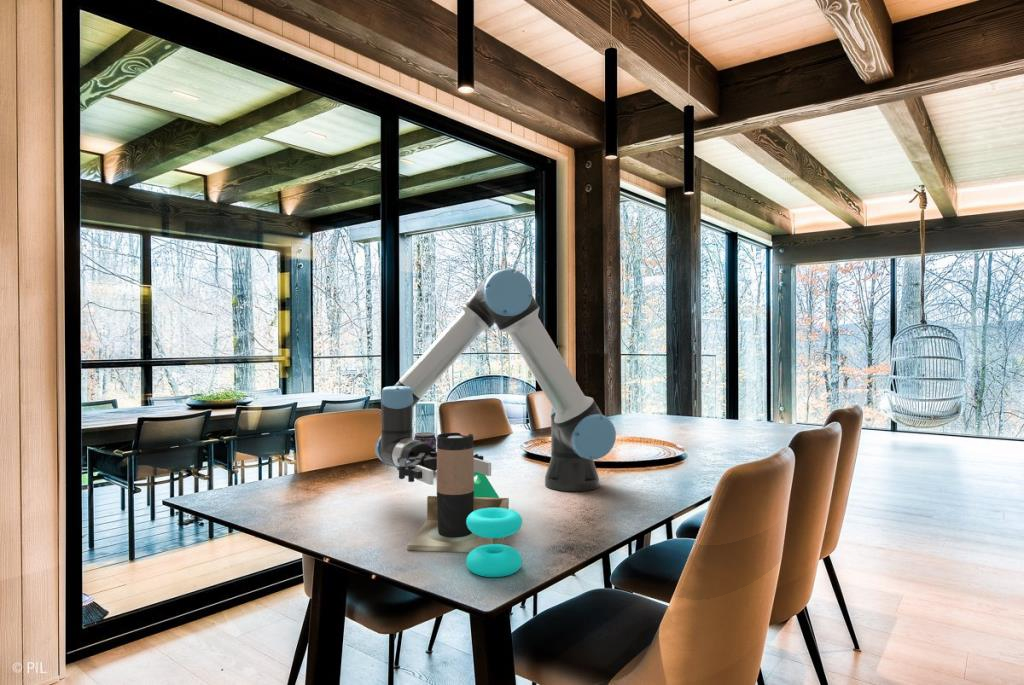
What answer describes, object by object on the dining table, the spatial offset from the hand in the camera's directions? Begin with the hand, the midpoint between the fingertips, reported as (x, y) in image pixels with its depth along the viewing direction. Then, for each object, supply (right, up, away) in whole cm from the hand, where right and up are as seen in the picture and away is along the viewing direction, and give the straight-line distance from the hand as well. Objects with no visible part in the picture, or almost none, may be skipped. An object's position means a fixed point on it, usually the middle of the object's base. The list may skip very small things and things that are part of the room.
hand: (461, 473), depth 125 cm
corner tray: (0, -14, +3) cm, 14 cm away
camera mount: (+1, -14, +24) cm, 28 cm away
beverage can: (-17, -14, +65) cm, 68 cm away
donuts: (+7, -14, -15) cm, 22 cm away
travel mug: (-1, -13, +2) cm, 13 cm away
